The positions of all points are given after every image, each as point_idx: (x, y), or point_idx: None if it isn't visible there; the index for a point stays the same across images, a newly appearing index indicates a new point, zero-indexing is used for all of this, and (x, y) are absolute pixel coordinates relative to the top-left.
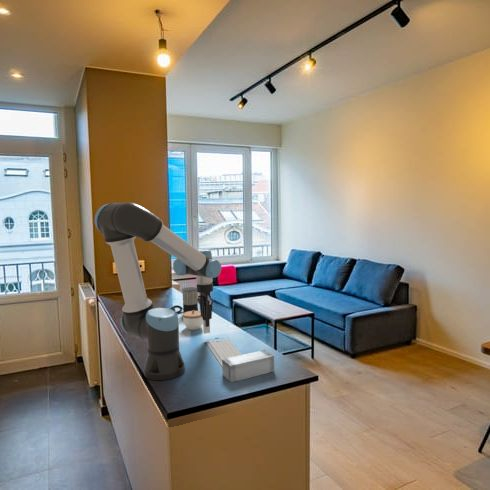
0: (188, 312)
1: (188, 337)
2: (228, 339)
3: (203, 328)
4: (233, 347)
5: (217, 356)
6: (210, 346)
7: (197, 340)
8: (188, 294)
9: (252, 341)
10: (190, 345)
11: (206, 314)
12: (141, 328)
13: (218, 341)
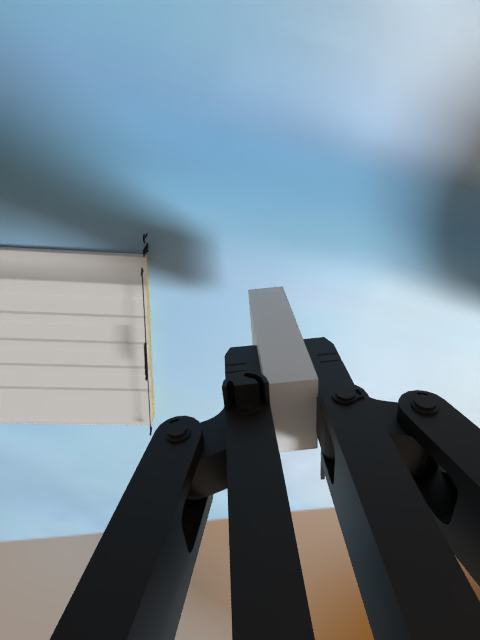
0: None
1: (418, 134)
2: (147, 421)
3: (285, 309)
4: None
5: None
6: (47, 264)
7: (281, 199)
8: None
9: (99, 514)
10: (164, 83)
11: (139, 508)
12: None
13: (130, 351)
